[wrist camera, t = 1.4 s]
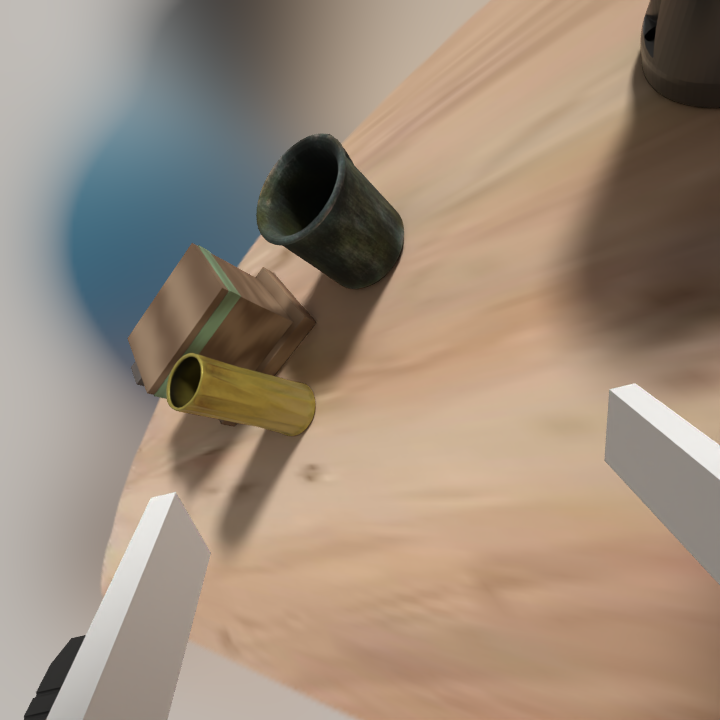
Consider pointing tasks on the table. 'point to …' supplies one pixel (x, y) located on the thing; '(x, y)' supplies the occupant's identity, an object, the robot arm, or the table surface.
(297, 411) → the vase
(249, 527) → the table surface
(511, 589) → the table surface
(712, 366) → the table surface
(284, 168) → the mug
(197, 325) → the stand
